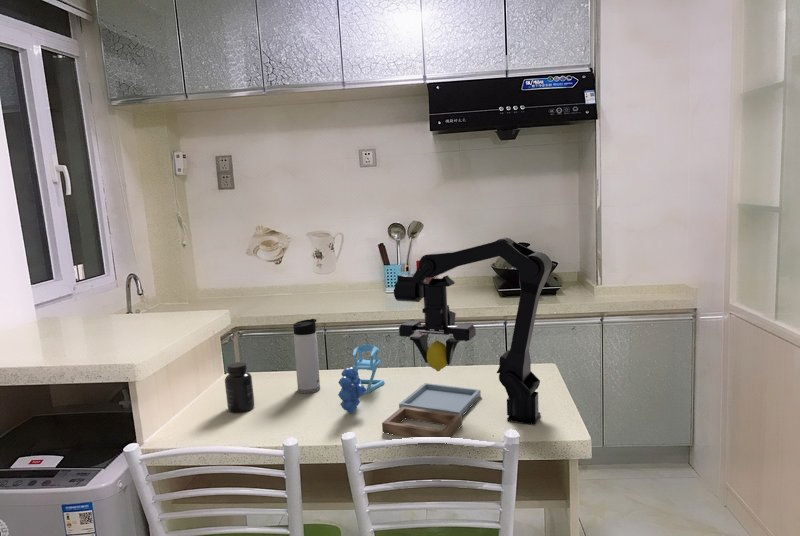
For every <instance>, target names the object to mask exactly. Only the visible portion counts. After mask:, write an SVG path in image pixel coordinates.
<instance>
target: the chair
mask: <svg viewBox="0 0 800 536" xmlns="http://www.w3.org/2000/svg"><path fill="white" fill-rule="evenodd" d="M379 351H380V348H379V347H377V346H375V345H373V344H369V343H368V344H365V343H364V344H363V345H359V346H357V347H355V348H354V349H353V352H352V358H353V362H354V364H353V365H352V366H351V367H352V368H354V369H355V370H356V371H357V373H358V374H357V376H358V377H359V378H360V376H359V370H364V371H365V370H367V371H371V375H370V378H369V379H367V378H366V379H365V378H360V382H359V384H361V385H362V383H365V384H366V383H367V387H366V390H367V391H366V393H367V394H368V393H372V391H374V390H376V389H378V388H380V387H382V385H384V384H385V380H384V379H374V378H375V375H376V372H377V370H378V367H379V365H381V359H379V358H378V356H379ZM363 352H371V353H370V359H363V354H362V353H363ZM357 353H358V354H359V356H358V357H359V359H357V358H356V356H357Z"/></svg>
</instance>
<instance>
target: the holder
mask: <svg viewBox="0 0 800 536" xmlns="http://www.w3.org/2000/svg"><path fill="white" fill-rule="evenodd" d="M405 418H406V420H410V419H413V420H412V421H417V420H419V421H418V422H423V421H425V422H424V423H429V422H430V423H431V424H437V425H442V424H444V425H443V426H444V427H443V428H442V429H436V428H430V427H424V426H420V425H419V426H418V425H412V424H407V423H406V424H405V423H402V422H403V421H404V420H405ZM402 420H403V421H402ZM401 421H402V422H401ZM400 422H401V423H400ZM462 424H463V416H462V415H458V414H451V413H444V412H437V411H431V410H424V409H417V408H410V407H403V406H402V407H401V408H400V409H399V408H398V409H397V410H396V411H395V412H393V413H392V414H391V415H390V416H389V417H387V418H386V419H385V420H384V421H382V423H381V427H382V428H381V429H382V433H383V432H384V433H389V434H393V435H392V436H395V437H403V438H407V437H451V438H452V437H453V436H454V435H455V434H456V433H457V432H458V431H459V429H460V428H461V427H462V426H463V425H462ZM461 425H462V426H461ZM460 426H461V427H460ZM459 427H460V428H459ZM456 431H457V432H456ZM455 432H456V433H455ZM384 433H383V434H384ZM454 433H455V434H454ZM389 434H388V435H389ZM453 434H454V435H453Z"/></svg>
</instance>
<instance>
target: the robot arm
mask: <svg viewBox="0 0 800 536" xmlns="http://www.w3.org/2000/svg"><path fill="white" fill-rule="evenodd" d="M498 257H499V258H501V259H503V260H505V262H506V263H508V264H509V265H510V267H513V268H514V269H516V270H517V271H518V282H519V287H520V288H519V289H520V297H519V301H518V307H517V312H516V317H515V323H514V328H513V333H512V338H511V343H510V349H507V350H506V351H505V352H504V353H503V354H502V355H500V356H499V363H498V364H499V366H498V370H497V371H496V374H499V375H498V381H499V382H500V383H501V385H502V386H503V387H504V389H505V391H506V394H507V399H506V415H507V418H506V421H507V422H512V423H520V424H527V425H536V423H537V421H538V419H539V418H540V417H541V412H539V392H538V391H536V390H538V389H539V386H540V383H541V380H540V379H539V378H538V377H537V376H536V374H534V373H533V371H531V369H532V368H531V366H532V365H531V361H532V359H531V355H530V346H531V341H532V336H533V332H534V327H535V326H534V325H535V321H536V315H537V310H538V306H539V301H540V295H541V292H542V291H543V288H544V287H545V285H546V282H547V280H548V278H549V275H550V273H551V271H552V267H553V265H552V264H553V263H552V260H551V257H549V256H548V255H547V254H546V253H544V252H542V251H541V252H536V251H534V250H533V249H531V248H529V247H526V246H524V245H522V244H520V243H518V242H516V241H515V240H513V239H511V238H509V237H502V238H498V239H497V240H494V241H491V242H490V241H489V242H487V243H483V244H480V245H479V244H478V245H474V246H472V247H468V248H467V247H466V248H464V249H460V250H444V251H443V250H442V251H435V252H431V253H427V254H424V255H422V256H421V257H420V260H419V262H418V267H417V269H416V271H415V272H414V274H413V275H407V274H398V275H397V280H396V282H395V284H394V289H393V296H394V298H395V300H396V301H397V302H408V303H410V302H411V303H419V302H421V300H422V299H423V307H424V308H422V314H424V324H423V325H422V323H421V321H419V320H418V321H417V320H416V321H415V320H407V321H405V322H404V323H401V324H400V326H398V336H399V337H407V338H409V340H410V341H413V343H414V344H415V346H416V347H417V349H418V351H419V353H420V355H421V357H422V359H423V360H424V362H425V364H428V362H427V350H428V347H429V344H428V340H429V339H428V338H429V334H430V335H431V334H433V335H446V336H447V335H448V339H447V340H445V346H446V357H447V365H446V366H450V365H451V363H452V359H453V356H454V354H455V351H456V350H455V349H456V348H457V345H458V343H460V342H461V341H462V342H468V341H470V340H472V339H473V338H474V337H475V336H476V335H477V331H476V327H475V325H474V324H467V323H459V324H457V325H456V315H457V313H456V312H454V311H451V310H450V305H449V304H448V293H447V292H448V291H447V288H448V287H451V286H453V285H455V281H454V280H453V279H452V278H450V276H449V275H444V276H443V277H442V278H438V277H437V276H441V275H443V274H445V273H447V272H450V271H451V270H454V269H456V268H458V267H461V266H465V265H469V264H474V263H477V262H481V261H484V260H489V259H490V260H491V259H493V258H498ZM436 277H437V278H436ZM427 279H430V280H429V281H428V280H427ZM425 280H427V281H425ZM455 325H456V326H455ZM451 326H452V327H451ZM453 326H455V327H453Z"/></svg>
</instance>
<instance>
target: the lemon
mask: <svg viewBox="0 0 800 536" xmlns="http://www.w3.org/2000/svg"><path fill="white" fill-rule="evenodd" d="M427 362H428V363H427V365H429V367H430V368H431V369H432V370H433V369H434V370H435V371H436V372H441V370H442V369H444V368H445V367H446V366H448V365H447V357H446V344H444V343H443V342H441V341H439V340H435V341H434V342H432V343H430V345H428V350H427Z"/></svg>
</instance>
